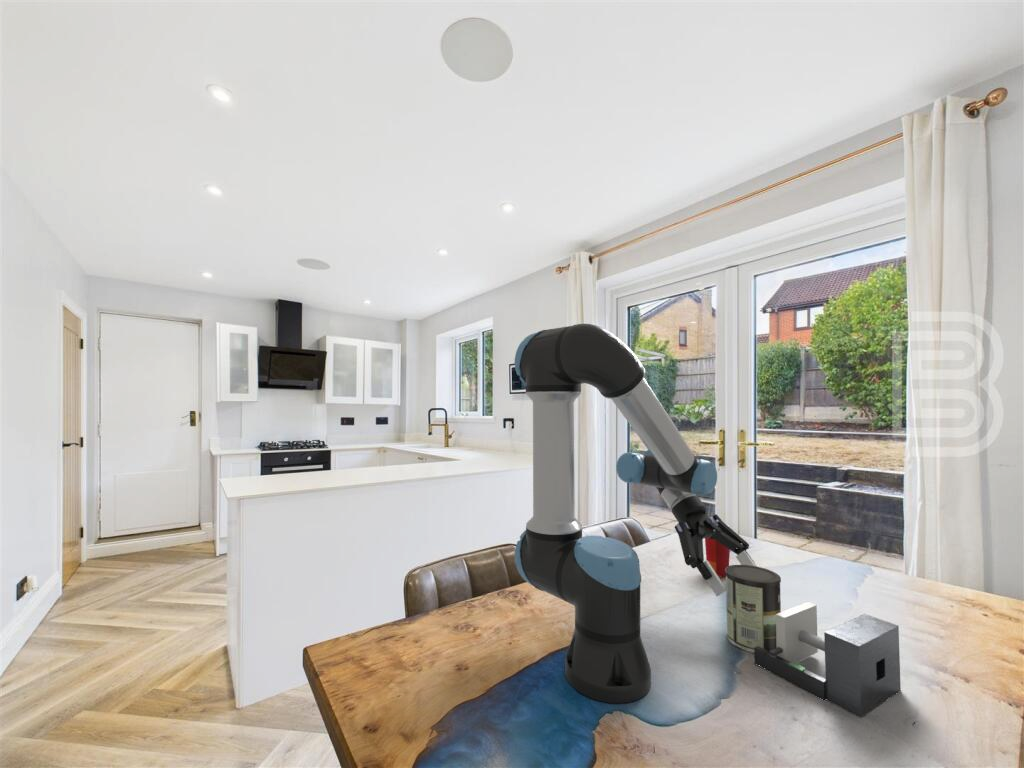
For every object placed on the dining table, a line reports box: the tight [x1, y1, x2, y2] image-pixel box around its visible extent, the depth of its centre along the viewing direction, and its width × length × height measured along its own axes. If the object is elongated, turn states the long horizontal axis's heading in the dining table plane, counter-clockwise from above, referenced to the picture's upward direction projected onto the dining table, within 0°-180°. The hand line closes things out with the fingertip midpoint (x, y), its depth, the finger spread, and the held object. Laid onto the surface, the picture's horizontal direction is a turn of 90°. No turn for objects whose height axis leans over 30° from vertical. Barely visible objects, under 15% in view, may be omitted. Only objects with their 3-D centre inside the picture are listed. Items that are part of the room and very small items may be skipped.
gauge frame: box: [753, 613, 902, 719], centre depth 81 cm, size 17×15×11 cm
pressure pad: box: [769, 601, 825, 664], centre depth 80 cm, size 11×14×9 cm
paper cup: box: [704, 524, 731, 578], centre depth 130 cm, size 8×8×14 cm
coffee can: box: [725, 564, 782, 654], centre depth 93 cm, size 10×10×14 cm
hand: (741, 586), depth 97 cm, fingers open, 13 cm apart
